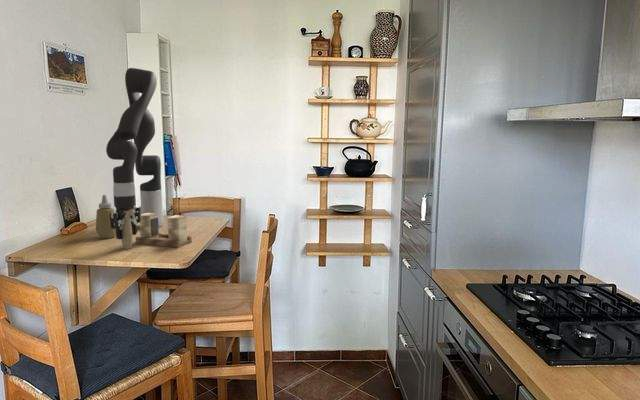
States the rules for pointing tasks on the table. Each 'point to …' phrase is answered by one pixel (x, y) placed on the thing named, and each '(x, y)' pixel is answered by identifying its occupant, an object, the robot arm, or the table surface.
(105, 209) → the squeeze bottle
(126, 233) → the beige tall post
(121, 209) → the robot arm
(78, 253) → the table surface
